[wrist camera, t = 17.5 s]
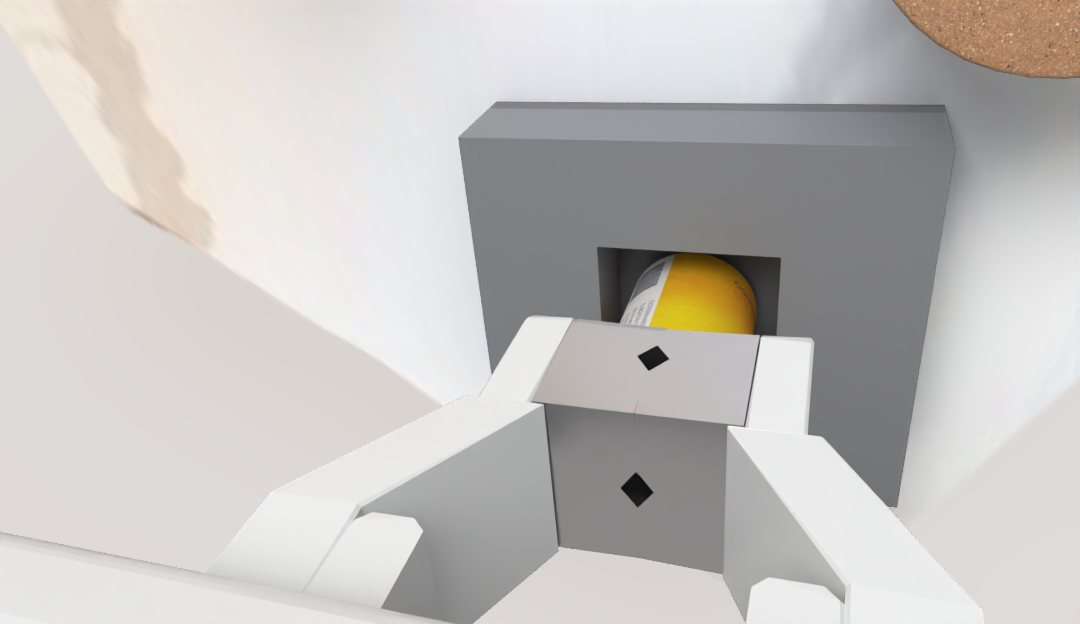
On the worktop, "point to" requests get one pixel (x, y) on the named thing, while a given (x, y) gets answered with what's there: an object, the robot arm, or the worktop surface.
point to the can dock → (729, 233)
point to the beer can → (693, 296)
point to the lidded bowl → (1004, 33)
